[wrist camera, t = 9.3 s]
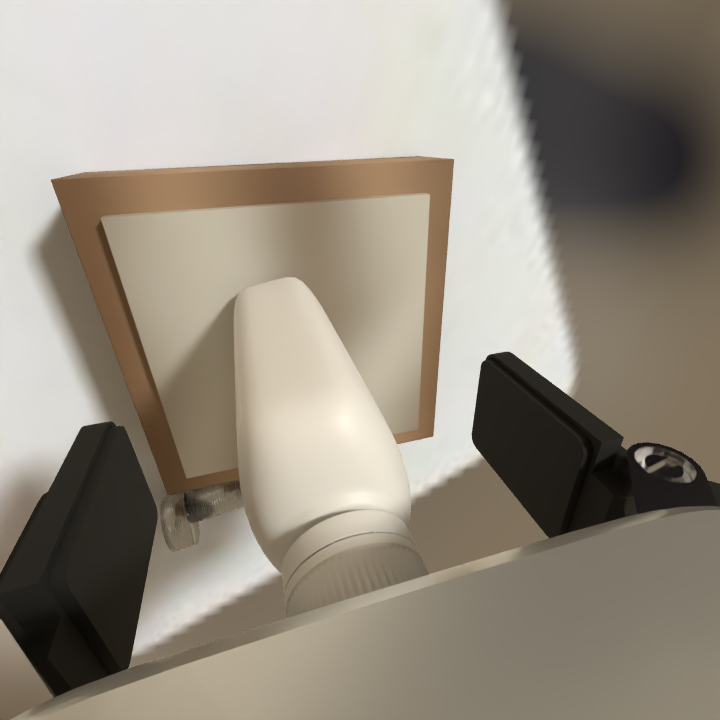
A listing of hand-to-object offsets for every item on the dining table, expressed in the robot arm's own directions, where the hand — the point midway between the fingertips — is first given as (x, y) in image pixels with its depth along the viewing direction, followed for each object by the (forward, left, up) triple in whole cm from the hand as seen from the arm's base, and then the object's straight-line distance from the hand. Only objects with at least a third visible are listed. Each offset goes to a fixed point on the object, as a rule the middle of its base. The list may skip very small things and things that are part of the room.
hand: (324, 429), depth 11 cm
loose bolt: (-4, -8, -8) cm, 12 cm away
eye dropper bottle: (0, 0, -5) cm, 5 cm away
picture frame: (0, 0, -8) cm, 8 cm away
